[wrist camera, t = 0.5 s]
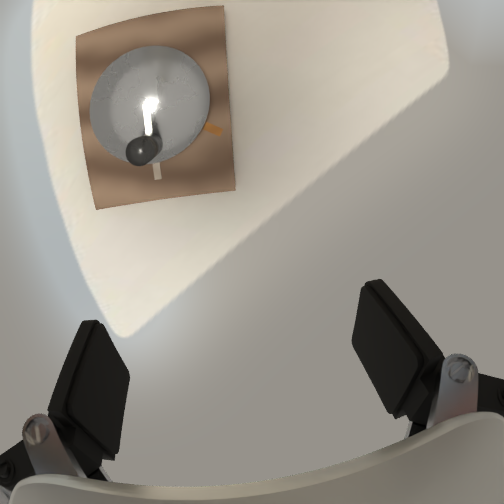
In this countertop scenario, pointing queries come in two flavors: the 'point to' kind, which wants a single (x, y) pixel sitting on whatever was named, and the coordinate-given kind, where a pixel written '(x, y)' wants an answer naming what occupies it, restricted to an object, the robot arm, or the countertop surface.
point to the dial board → (207, 141)
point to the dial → (149, 105)
